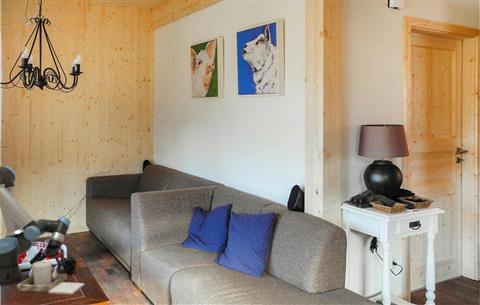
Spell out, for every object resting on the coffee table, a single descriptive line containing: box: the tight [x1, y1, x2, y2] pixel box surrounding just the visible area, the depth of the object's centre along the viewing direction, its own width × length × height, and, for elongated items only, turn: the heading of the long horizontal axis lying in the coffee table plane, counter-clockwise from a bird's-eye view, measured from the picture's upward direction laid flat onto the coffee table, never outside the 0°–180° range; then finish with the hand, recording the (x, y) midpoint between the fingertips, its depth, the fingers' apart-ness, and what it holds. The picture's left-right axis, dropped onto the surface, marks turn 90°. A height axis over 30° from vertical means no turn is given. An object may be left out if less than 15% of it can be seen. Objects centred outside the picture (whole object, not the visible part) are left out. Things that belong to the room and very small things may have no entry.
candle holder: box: [32, 260, 53, 286], centre depth 229 cm, size 10×10×12 cm
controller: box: [59, 256, 77, 274], centre depth 248 cm, size 4×12×10 cm, turn 57°
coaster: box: [48, 281, 85, 296], centre depth 223 cm, size 13×13×1 cm
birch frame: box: [16, 273, 68, 293], centre depth 229 cm, size 18×18×3 cm
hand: (41, 276), depth 228 cm, fingers open, 13 cm apart
